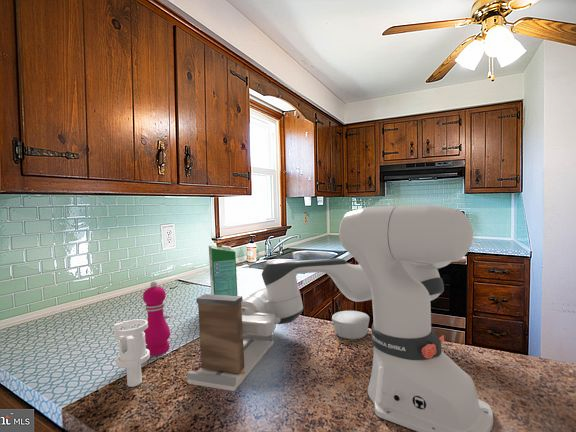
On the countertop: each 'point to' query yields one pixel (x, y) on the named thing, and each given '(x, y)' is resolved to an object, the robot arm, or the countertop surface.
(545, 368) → the countertop surface
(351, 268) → the robot arm
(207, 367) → the block
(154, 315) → the pepper mill
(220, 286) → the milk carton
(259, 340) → the slide board
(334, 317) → the ramekin
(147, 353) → the white cylindrical cage holder
